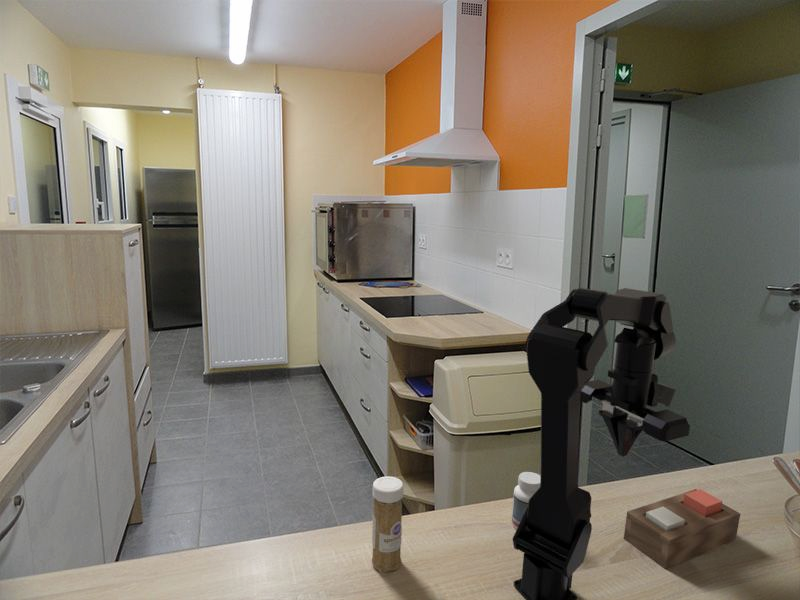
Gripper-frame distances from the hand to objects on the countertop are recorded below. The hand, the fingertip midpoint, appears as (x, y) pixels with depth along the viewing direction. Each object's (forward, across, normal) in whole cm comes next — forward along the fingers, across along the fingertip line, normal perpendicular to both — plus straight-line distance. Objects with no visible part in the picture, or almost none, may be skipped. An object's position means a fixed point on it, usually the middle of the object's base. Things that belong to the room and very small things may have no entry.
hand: (622, 455), depth 92 cm
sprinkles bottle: (+13, +7, +40) cm, 43 cm away
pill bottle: (+13, +6, +14) cm, 20 cm away
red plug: (+11, -7, -12) cm, 18 cm away
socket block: (+13, -8, -7) cm, 17 cm away
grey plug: (+12, -7, -3) cm, 15 cm away
